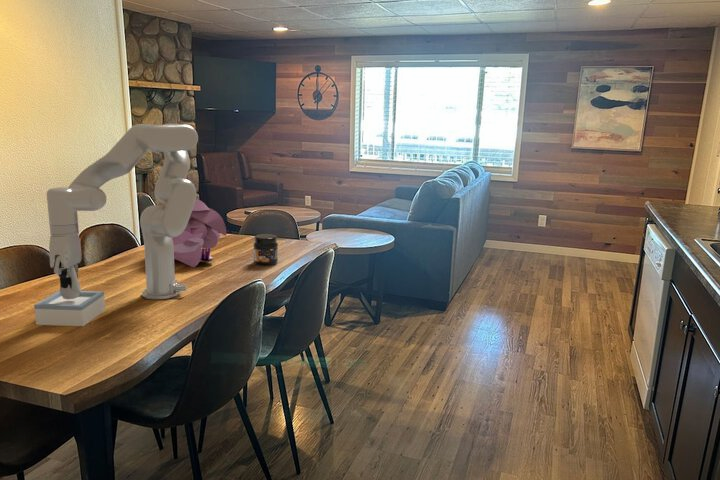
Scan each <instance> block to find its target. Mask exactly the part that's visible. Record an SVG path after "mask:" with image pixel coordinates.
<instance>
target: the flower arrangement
mask: <svg viewBox="0 0 720 480" xmlns="http://www.w3.org/2000/svg"><path fill="white" fill-rule="evenodd" d="M221 235H223V236H225V237H226V236H227V227H226V224H225V220H224V219H223V217H222V216H221V215H220V214H219V213H218V212H217V211H216V210H214V209H213V208H211V207H208V205H206V203H205V202H203V201H202V200H200V199H197V198H196V201H195V204H194V207H193V210H192V213H191V215H190V218H189V221H188V224H187V226H186V228H185V230H184V232H183V233H182V234H181V235H179V236H177V237H172V239H173V245H174V260H176V261H179V262H181V263H183V264H185V265H187V266H190V267H191V268H195V267H196V266H198V265H199V263H200V262H201V263H203V262H204V263H205V262H206V263H211V262H212V261H214V257H213V256H211V249H213V248H215V247H216V246H217V244H218V241H219V240H220V239H221Z"/></svg>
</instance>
